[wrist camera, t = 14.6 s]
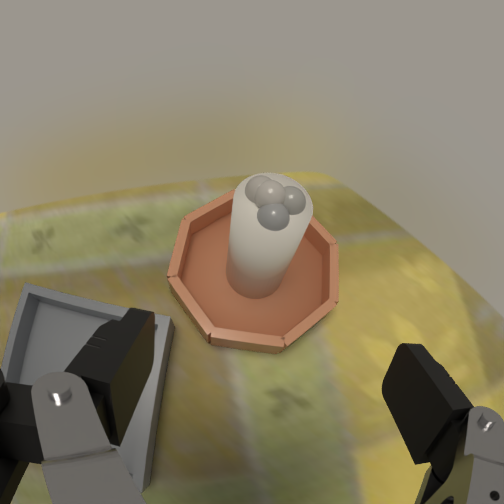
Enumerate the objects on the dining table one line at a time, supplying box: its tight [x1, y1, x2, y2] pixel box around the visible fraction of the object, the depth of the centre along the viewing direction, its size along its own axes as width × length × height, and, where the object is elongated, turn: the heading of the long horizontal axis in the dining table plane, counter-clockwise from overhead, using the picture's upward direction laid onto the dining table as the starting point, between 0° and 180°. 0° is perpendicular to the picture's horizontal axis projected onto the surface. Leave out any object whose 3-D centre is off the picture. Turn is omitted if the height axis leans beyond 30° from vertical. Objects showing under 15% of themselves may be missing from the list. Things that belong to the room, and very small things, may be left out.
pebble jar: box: [226, 173, 313, 299], centre depth 23 cm, size 5×5×11 cm
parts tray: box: [1, 282, 175, 493], centre depth 21 cm, size 14×14×3 cm
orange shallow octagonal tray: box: [167, 190, 339, 354], centre depth 28 cm, size 14×14×3 cm
